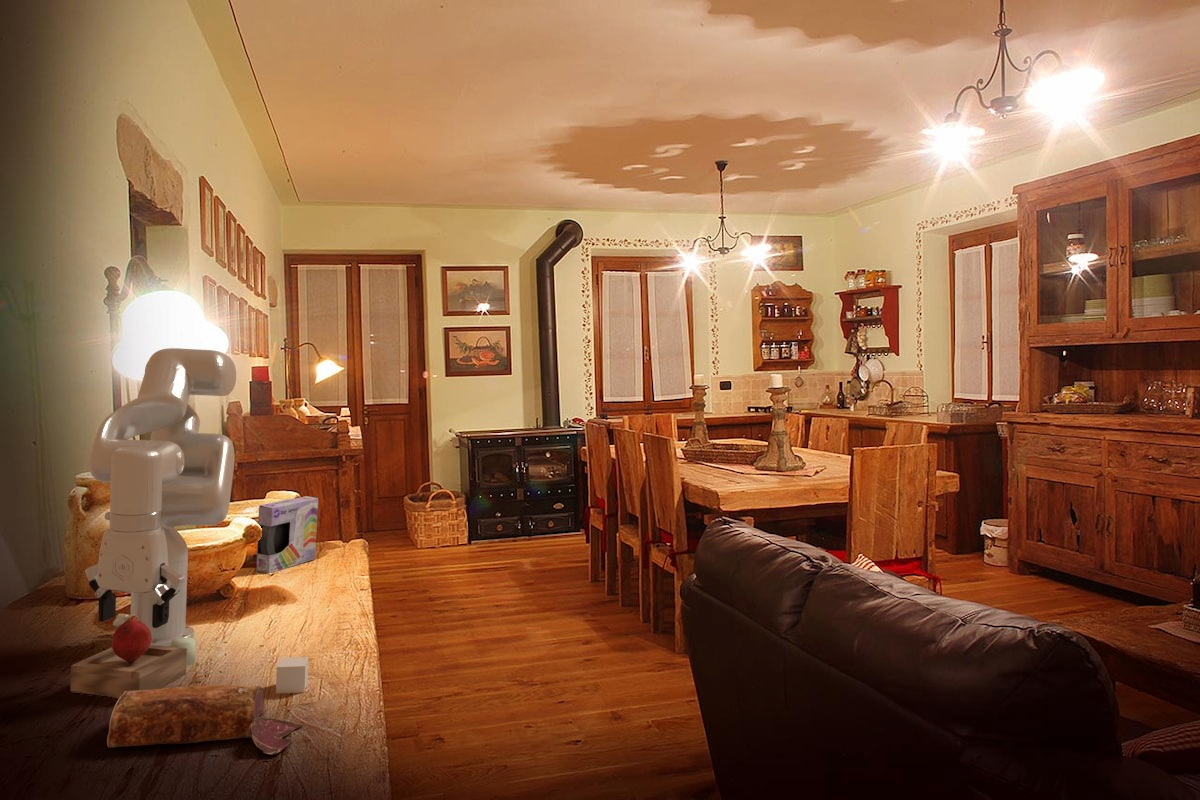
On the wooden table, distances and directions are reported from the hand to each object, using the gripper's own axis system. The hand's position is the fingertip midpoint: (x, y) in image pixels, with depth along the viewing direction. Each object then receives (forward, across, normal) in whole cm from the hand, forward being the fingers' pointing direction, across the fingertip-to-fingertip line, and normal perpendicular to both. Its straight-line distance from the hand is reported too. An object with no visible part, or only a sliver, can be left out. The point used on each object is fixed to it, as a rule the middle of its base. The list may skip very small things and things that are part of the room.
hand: (133, 622), depth 140 cm
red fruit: (+7, +1, -1) cm, 7 cm away
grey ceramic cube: (+10, +27, +4) cm, 29 cm away
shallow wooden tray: (+10, +1, -1) cm, 10 cm away
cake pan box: (+14, -16, +82) cm, 84 cm away
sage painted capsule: (+10, +3, +10) cm, 14 cm away
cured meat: (+10, +24, -16) cm, 30 cm away
